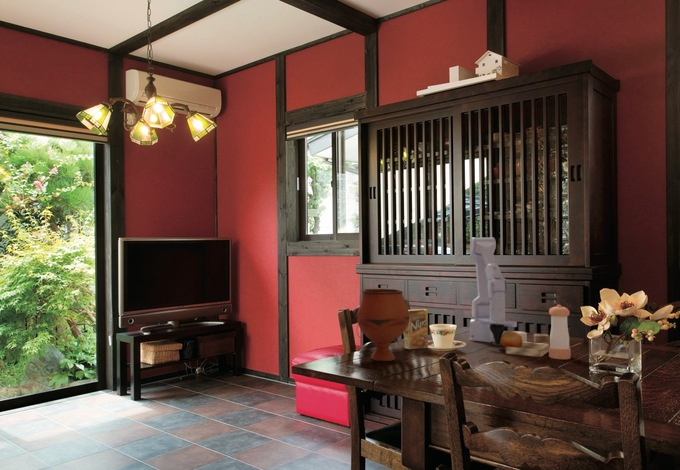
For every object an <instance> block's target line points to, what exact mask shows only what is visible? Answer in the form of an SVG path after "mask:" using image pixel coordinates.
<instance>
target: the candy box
mask: <svg viewBox="0 0 680 470" xmlns="http://www.w3.org/2000/svg"><path fill="white" fill-rule="evenodd" d="M408 311H409V323H408V326H407V328H406V329H405V331H404V332H403V336H404V338H403V339H404V340H403V341H404V347H403V348H404V349H407V350H415V349H416V350H417V349H427V348H426V347H428V348H429V321H428V320H429V318H428V316H429V314H428V312H429V309H424V308H418V309H417V308H416V309H408Z"/></svg>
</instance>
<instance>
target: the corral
mask: <svg viewBox="0 0 680 470" xmlns="http://www.w3.org/2000/svg"><path fill="white" fill-rule="evenodd" d="M549 347H550V343H549V344H543V343H534V342H529V341H527V342H522V346H521V348H517V347H506V350H505V354H509V355H518V356H525V357H526V356H527V357H528V356H529V357H537V358H539V357H540V358H541V357H543V356H544V355H546V354H547V353H549Z"/></svg>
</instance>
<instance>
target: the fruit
mask: <svg viewBox="0 0 680 470" xmlns="http://www.w3.org/2000/svg"><path fill="white" fill-rule="evenodd" d="M500 341H501V343H502V345H503V346H502V347H503V348H504V350H505V351H506V347H517V348H521V346H522V337H521V336H520V335H519V334H518V333H516V332H514V331H510V332H509V331H508V332H505V333H504V335H502V337H501V339H500Z"/></svg>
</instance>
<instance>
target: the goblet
mask: <svg viewBox="0 0 680 470" xmlns="http://www.w3.org/2000/svg"><path fill="white" fill-rule="evenodd" d="M408 310H409V308H408V305H407V303H406V299H405V296H404V295H403V291H402V290H399V289H393V288H392V289H389V288H388V289H387V288H366V289H363V290H362V298H361V301H360V305H359V307H358V310H357V315H356V318H357V325H358V328H359V329H360V330H361V332H362V334H363V335H364V336H365V337H366V338H367V339H369V340H370V341H372V342H373V343H374V346H375V347H376V348H375V350H374V352H373V353H372V354H371V356H370V359H372V360H373V361H378V362H380V361H381V362H389V361H390V362H391V361H393V360H395V355H394V354H393V352H392V351H391V350H390V346H392V345H391V343H392V342H394V341H395V340H397V339H399V338H400V337H401V336H402V335H404V331H405V329H406V328H407V326H408V323H409V311H408Z"/></svg>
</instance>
